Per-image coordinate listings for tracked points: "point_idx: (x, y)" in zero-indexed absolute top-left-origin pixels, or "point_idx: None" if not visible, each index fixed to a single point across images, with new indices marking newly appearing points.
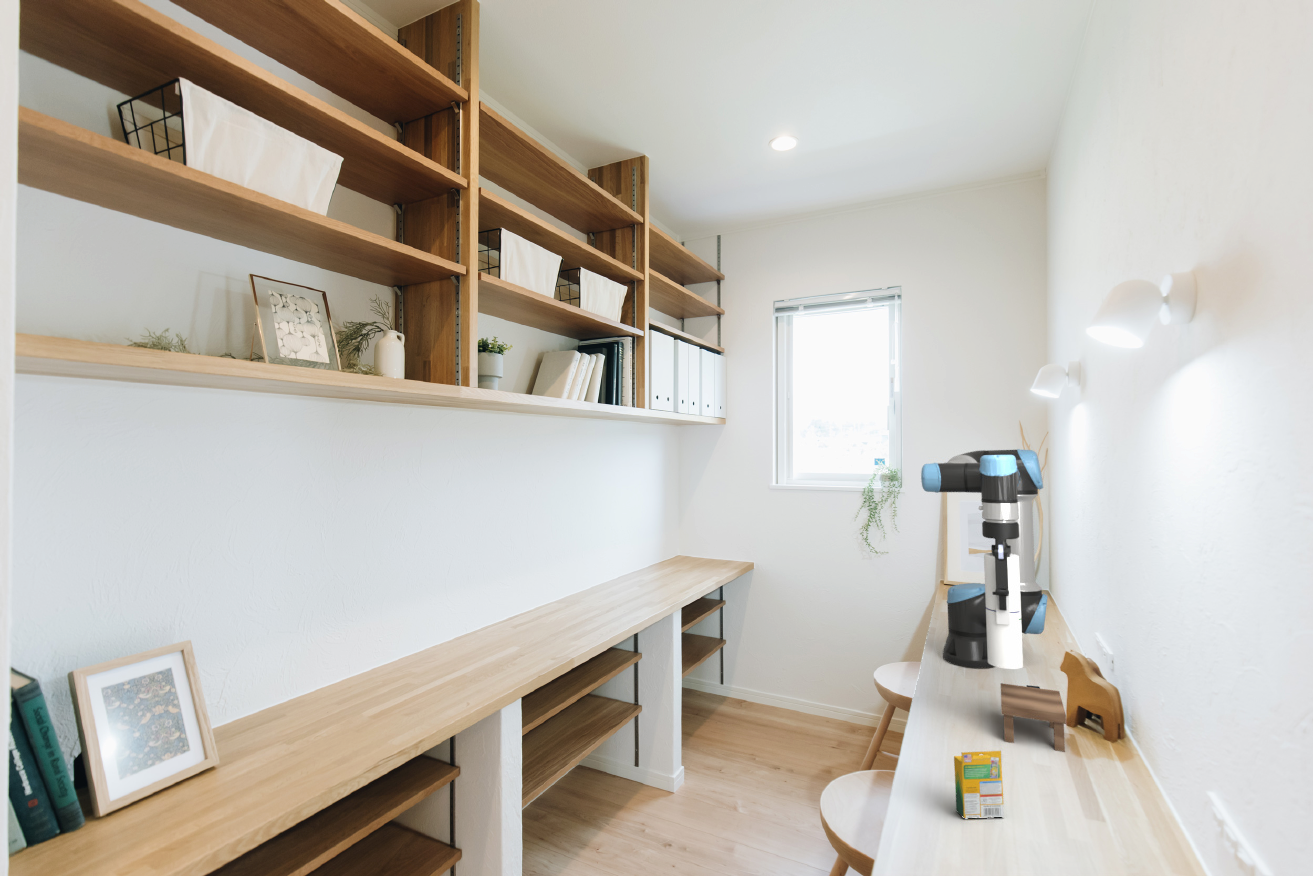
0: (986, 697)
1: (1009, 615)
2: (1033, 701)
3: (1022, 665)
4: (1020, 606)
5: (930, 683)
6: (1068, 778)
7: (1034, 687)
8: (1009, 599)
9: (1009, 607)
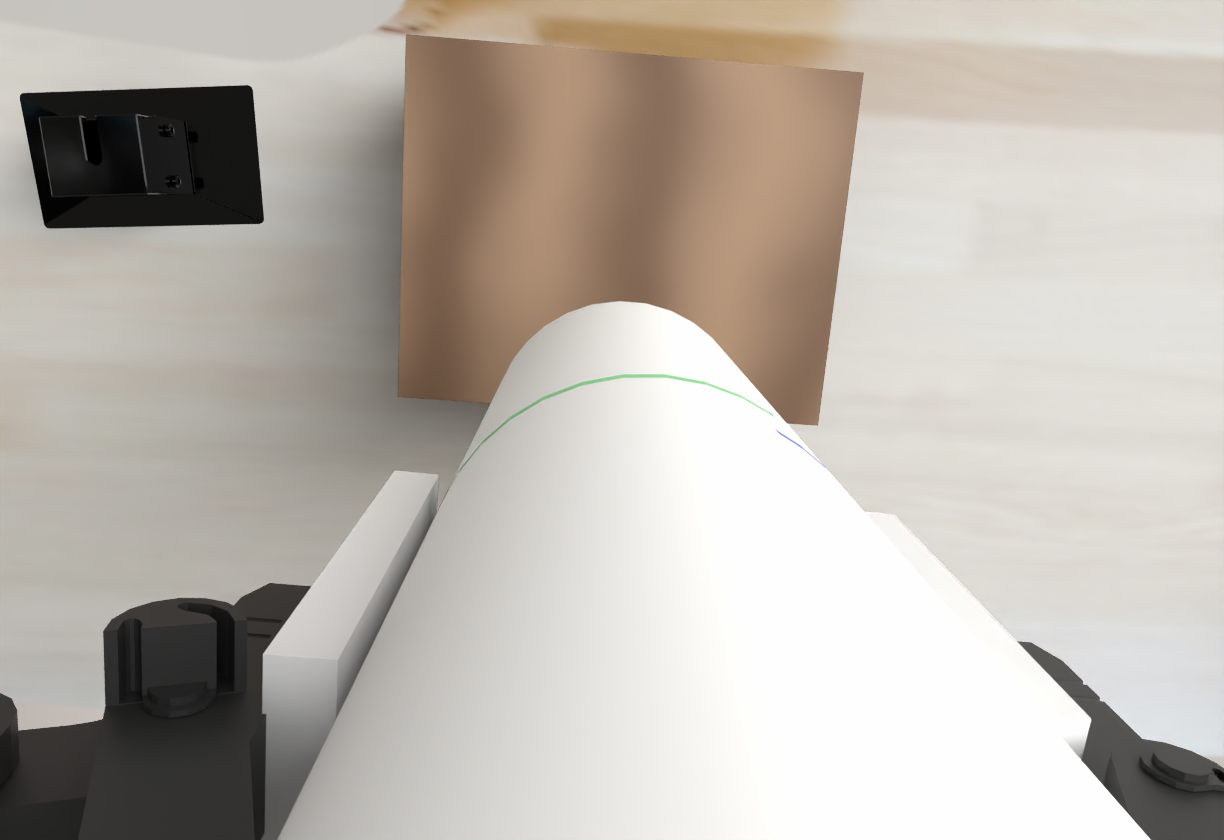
0: (156, 414)
1: (939, 568)
2: (686, 233)
3: (667, 310)
4: (736, 427)
5: (64, 692)
6: (1088, 144)
7: (75, 150)
8: (1032, 677)
9: (984, 615)
